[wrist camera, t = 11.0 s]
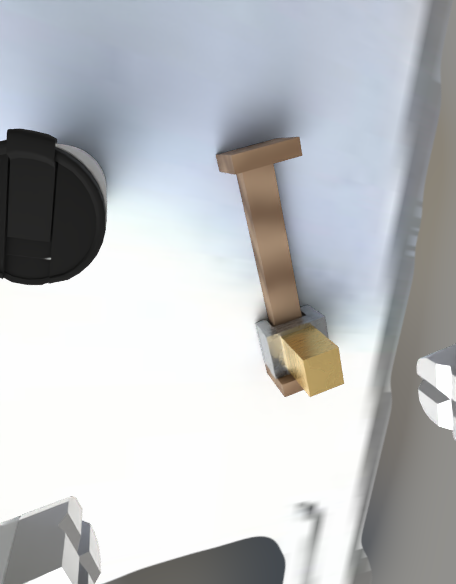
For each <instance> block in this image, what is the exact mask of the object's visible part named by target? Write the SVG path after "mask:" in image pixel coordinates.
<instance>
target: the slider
mask: <svg viewBox="0 0 456 584" xmlns="http://www.w3.org/2000/svg"><path fill="white" fill-rule="evenodd" d="M300 310H301V315H302V317H300V318H297V319H295V320H292V321H289V322H286V323H283V324H281V325H278V326H275V327H272V326H271V325H270V324H269V323H268V321H267V320H263V321H260V322H257V323H255V324H256V329H257V333H258V337H259V341H260V346H261V350H262V354H263V358H264V362H265V364H266V365H267V366H268V368H269V369H270V371H271V373H272V375H273V376H274V377H275V379H278V378H281V377H283V376H286V375H289V374H291V375H292V376H293V377H294V378H295V379H296V381H297V382H298V383H299V384H300V385H301V387H302V388H303V389H304V390H305V391H306V393H307V394H308V395H309V396H310V397H311V396H314V395H316V394H319V393H321V392H324V391H327V390H329V389H332V388H334V387H337V386H339V385H342V384H344V380H343V373H342V367H341V360H340V354H339V347H338V346H337V345H335V344H334V343H333V342H332V341H331V340H329V338H328V332H327V326H326V320H325V316H324V315H322V314H321V313H320V312H318V311H316V310H314V309H313V308H312V307H311V306H309V305H305V306H303V307H300Z"/></svg>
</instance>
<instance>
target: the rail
mask: <svg viewBox="0 0 456 584" xmlns="http://www.w3.org/2000/svg"><path fill="white" fill-rule="evenodd" d="M299 156H302V151H301V144H300V138H299V137H290V138H276V139H273V140H269V141H265V142H261V143H258V144H254V145H250V146H247V147H243V148H239V149H236V150H232V151H228V152H225V153H221V154H217V155H216V158H217V163H218V167H219V171H220V172H225V173H230V174H236V175H237V179H238V184H239V188H240V193H241V197H242V202H243V206H244V211H245V215H246V220H247V224H248V229H249V234H250V238H251V243H252V247H253V252H254V256H255V261H256V265H257V270H258V274H259V279H260V283H261V288H262V292H263V297H264V301H265V306H266V310H267V315H268V319H269V324H270V325H271V326H272V327H275V326H278V325H281V324H283V323H286V322H289V321H292V320H295V319H297V318H300V317H302V315H301V310H300V304H299V299H298V294H297V288H296V283H295V278H294V272H293V267H292V261H291V256H290V251H289V245H288V240H287V235H286V229H285V224H284V219H283V213H282V208H281V202H280V197H279V192H278V186H277V181H276V176H275V170H274V165H273V164H274V163H278V162H281V161H285V160H288V159H292V158H295V157H299ZM265 366H266V370H267V373H268V375H269V376H270V377H271V379H272V380H273V382H274V383H275V384H276V386H277V387H278V388H279V390H280V391H281V392H282V394H283V395H284V397H286V396H289V395H292V394H294V393H297V392H299V391H302V390H304V389H303V388H302V387H301V385H300V384H299V383H298V382H297V381H296V379H295V378H294V377H293V376H292V375H291V374H289V375H286V376H283V377H281V378H278V379H275V377H274V376H273V375H272V373H271V371H270V369H269V368H268V366H267V365H266V364H265Z"/></svg>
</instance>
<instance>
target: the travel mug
mask: <svg viewBox="0 0 456 584" xmlns="http://www.w3.org/2000/svg"><path fill="white" fill-rule="evenodd" d="M106 222H107V194H106V180H105V176H104V173H103V171H102V169H101V167H100V165H99V164H98V162H97V161H96V160H95V159H94V158H93V157H92V156H91V155H90V154H88V153H87V152H85V151H84V150H82V149H80V148H77V147H74V146H70V145H63V144H57V139H56V138H54V137H52V136H51V135H49V134H44V133H40V132H36V131H31V130H25V129H8V131H7V140H4V141H0V278H2V279H3V278H6V279H7V280H9V281H11V282H15V283H20V284H25V285H43V284H45V283H48V282H49V283H54V282H59V281H64V280H68V279H70V278H72V277H74V276H75V275H77V274H79V273H80V272H81V271H83V270H84V269H85V268H86V267H87V266H88V265H89V264H90V263H91V262H92V261H93V259H94V258H95V257H96V255H97V254H98V252H99V249H100V247H101V245H102V243H103V239H104V235H105V230H106Z"/></svg>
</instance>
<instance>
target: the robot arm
mask: <svg viewBox="0 0 456 584" xmlns="http://www.w3.org/2000/svg"><path fill="white" fill-rule="evenodd" d="M417 374H418V375H419V376H420V377H421V378H423V381H422V382H421V385H420V386H419V388H418V392H419V400H420V403H421V405H422V407H423V409H424V411H425V413H426V414H427V415H428V416H429V418H430V419H431V420H432V421H433V422H435V423H436V424H437V425H438V426H440V427H444V428H447V429H451V430H452V432H453V436H454V439H455V440H456V343H455V344H454V345H452V346H449V347H447V348H444V349H442V350H439V351H437V352H434V353H432V354H429V355H427V356H424V357H422V358H419V360H418V363H417ZM100 573H101V558H100V552H99V546H98V541H97V538H96V535H95V532H94V530H93V528H92V526H91V524H89V523H87V522H84V521H82V507H81V505H80V504H79V502H78V500H77V498H76V497H72V496H71V497H68V498H66V499H63V500H60V501H57V502H55V503H52V504H49V505H47V506H44V507H41V508H39V509H36V510H33V511H31V512H28V513H25V514H23V515H22V516H18V517H16V518H13V519H10V520H8V521H5V522H2V523H0V584H95V582H96V580H97V578H98V577H99V575H100Z"/></svg>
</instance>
